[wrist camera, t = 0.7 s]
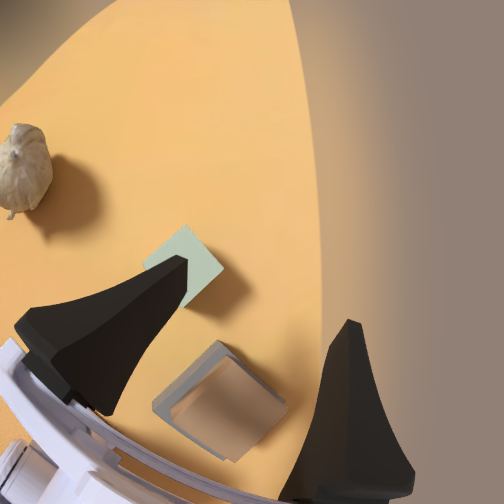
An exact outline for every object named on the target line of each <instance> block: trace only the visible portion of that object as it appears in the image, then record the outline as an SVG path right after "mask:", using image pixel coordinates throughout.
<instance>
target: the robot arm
mask: <svg viewBox="0 0 504 504" xmlns="http://www.w3.org/2000/svg"><path fill="white" fill-rule="evenodd" d="M187 282H188V259H186V258H184V257H181V256H179V255H174V256H172V257H170V258H168V259H167V260H165V261H163V262H161V263H159V264H157V265H156V266H154V267H152V268H150V269H148V270H146V271H144V272H143V273H141V274H139V275H137V276H135V277H133V278H131V279H129V280H127V281H125V282H123V283H120V284H118V285H116V286H114V287H112V288H109V289H107V290H104V291H102V292H99V293H96V294H93V295H90V296H87V297H84V298H80V299H77V300H74V301H69V302H65V303H61V304H56V305H50V306H42V307H34V308H30V309H29V310H28V311H27V312H26V313H25V314H24V315H23V316H22V317H21V318H20V319H19V320H18V322H17V323H16V324H15V325H14V328H15V330H16V332H17V333H18V335H19V336H20V338H21V339H22V341H23V342H24V343H25V345H26V346H27V347H28V349H29V350H30V351H29V352H28V353H27V354H26V352H25V351H24V350H23V349H22V348H21V347H20V346H19V345H18V343H17V342H16V341H15V340H14V339H13V338H12V337H10V338H9V339H8V340H7V341H6V343H5V344H4V345H3V346H2V347H1V348H0V394H1V396H2V397H3V399H4V400H5V402H6V403H7V405H8V406H9V408H10V409H11V410H12V412H13V413H14V415H15V416H16V417H17V419H18V420H19V421H20V423H21V424H22V425H23V427H24V428H25V429H26V430H27V432H28V433H29V434H30V435H31V437H32V438H33V440H32V441H31V443H30V444H29V446H28V447H27V446H26V445H27V442H26V441H25V440H24V439H14V440H13V441H12V442H11V443H10V445H9V446H8V447H7V449H6V450H5V452H4V453H3V454H2V456H1V457H0V504H195V503H193V502H190V501H188V500H186V499H183V498H181V497H179V496H177V495H175V494H173V493H170V492H168V491H166V490H164V489H162V488H160V487H158V486H156V485H154V484H152V483H150V482H148V481H146V480H145V479H143V478H141V477H139V476H137V475H135V474H134V473H132V472H130V471H129V470H127V469H125V468H123V467H122V466H120V465H119V462H120V460H121V459H122V457H121V456H120V455H118V454H117V453H115V452H114V451H112V450H113V449H114V448H116V447H117V448H118V449H120V450H121V451H123V452H125V453H126V454H128V455H129V456H131V457H133V458H134V459H136V460H138V461H140V462H141V463H143V464H145V465H147V466H148V467H150V468H152V469H154V470H156V471H158V472H160V473H162V474H164V475H166V476H168V477H170V478H172V479H174V480H176V481H178V482H180V483H182V484H185V485H187V486H189V487H191V488H194V489H196V490H198V491H201V492H203V493H206V494H208V495H211V496H214V497H216V498H219V499H222V500H225V501H228V502H231V503H234V504H388V503H389V500H390V499H395V498H401V497H405V496H408V495H410V494H412V491H413V486H414V481H415V471H414V469H413V468H412V466H411V464H410V463H409V461H408V460H407V458H406V456H405V455H404V453H403V451H402V449H401V447H400V446H399V444H398V442H397V439H396V437H395V435H394V433H393V431H392V429H391V426H390V424H389V422H388V419H387V417H386V414H385V412H384V409H383V406H382V403H381V400H380V397H379V394H378V391H377V387H376V384H375V381H374V377H373V373H372V369H371V365H370V361H369V357H368V352H367V348H366V344H365V339H364V334H363V329H362V325H361V323H358V322H355V321H352V320H350V319H348V320H347V321H346V323H345V324H344V326H343V327H342V329H341V330H340V332H339V333H338V334H337V336H336V337H335V339H334V340H333V342H332V343H331V345H330V346H329V350H328V353H327V356H326V360H325V363H324V367H323V372H322V377H321V383H320V388H319V393H318V398H317V403H316V408H315V412H314V416H313V420H312V423H311V425H310V428H309V431H308V434H307V437H306V439H305V442H304V444H303V447H302V449H301V452H300V454H299V456H298V459H297V461H296V463H295V465H294V468H293V470H292V472H291V474H290V476H289V478H288V480H287V482H286V484H285V486H284V487H283V489H282V491H281V493H280V495H279V498H278V501H276V500H272V499H268V498H265V497H261V496H257V495H254V494H251V493H247V492H244V491H241V490H238V489H235V488H232V487H229V486H226V485H223V484H221V483H218V482H215V481H213V480H210V479H208V478H205V477H203V476H200V475H198V474H196V473H193V472H191V471H189V470H187V469H185V468H182V467H180V466H178V465H176V464H174V463H172V462H170V461H168V460H166V459H164V458H162V457H160V456H158V455H156V454H155V453H153V452H151V451H149V450H147V449H146V448H144V447H142V446H140V445H139V444H137V443H135V442H134V441H132V440H130V439H129V438H127V437H125V436H124V435H122V434H121V433H119V432H118V431H116V430H115V429H113V428H112V427H110V426H109V425H107V424H106V423H105V422H104V421H103V420H101V419H100V418H99V417H98V416H97V415H96V414H95V413H94V412H92V411H91V410H93V411H95V410H97V411H98V412H99V413H101V414H102V415H104V416H111V415H113V412H114V410H115V408H116V405H117V403H118V401H119V399H120V396H121V394H122V392H123V390H124V388H125V386H126V384H127V382H128V380H129V378H130V376H131V375H132V373H133V371H134V369H135V367H136V365H137V364H138V362H139V360H140V359H141V357H142V355H143V354H144V352H145V350H146V349H147V347H148V346H149V345H150V343H151V342H152V341H153V339H154V338H155V337H156V335H157V334H158V333H159V332H160V330H161V329H162V328H163V326H164V325H165V324H166V323H167V321H168V320H169V319H170V318H171V316H172V315H173V314H174V312H175V311H176V310H177V308H178V307H179V305H180V303H181V302H182V300H183V298H184V296H185V295H186V293H187ZM88 407H89V408H90V409H91V410H90V409H89V408H88ZM23 451H24V453H23ZM285 502H286V503H285Z"/></svg>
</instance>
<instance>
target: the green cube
mask: <svg viewBox="0 0 504 504" xmlns="http://www.w3.org/2000/svg"><path fill="white" fill-rule="evenodd" d="M174 255H179V256H181V257H184V258H186V259H188V282H187V293H186V295H185V296H184V298H183V300H182V302H181V303H180V305H179V307H181V308H183V307H184V306H185V305H186V304H188V303H189V302H190V301H191V300H192V299H193V298H194V297H195V296H196V295H197V294H198V293H199V292H200V291H201V290H202V289H203V288H204V287H205V286H207V285H208V284H209V283H210V282H211V281H212V280H213V279H214V278H215V277H216V276H217V275H218V274H219V273H220V272H221V271H222V270H223V269H224V267H223V266H222V265H221V264H220V263H219V262H218V261H217V260H216V258H215V257H214V256H213V255H212V254H211V253H210V252H209V250H208V249H207V248H206V247H205V246H204V245H203V243H202V242H201V241H200V240H199V239H198V238H197V237H196V235H195V234H194V233H193V232H192V231H191V230H190V228H189V227H188V226H187V225H185V226H184V227H182V228H181V229H180V230H179V231H178V232H177V233H175V234H174V235H173V236H172V237H171V238H170V239H168V240H167V241H166V242H165V243H164V244H163V245H162V246H160V247H159V248H158V249H157V250H156V251H155V252H154V253H153V254H151V255H150V256H149V257H148V258H147V259H146V260H145V261H144V262H143V263H142V265H143V267H144V268H145V269H146V270H148V269H150V268H152V267H154V266H156V265H157V264H159V263H161V262H163V261H165V260H167V259H168V258H170V257H172V256H174Z"/></svg>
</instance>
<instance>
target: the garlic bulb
mask: <svg viewBox="0 0 504 504" xmlns="http://www.w3.org/2000/svg"><path fill="white" fill-rule="evenodd" d="M52 179H53V169H52V165H51V159H50V155H49V152H48V149H47V145H46V141H45V136H44V134H43V132H42V130H41V129H39V128H37V127H35V126H32V125H30V124H21V123H16V124H14V125H13V126H12V128H11V131H10V134H9V135H8V137H7V138H6V140H5V142H4V143H3V144H2V145H1V146H0V206H1V207H3V208H4V209H7V210H11V213H10V215H9V216H8V217H7V220H13V218H14V215H15V214H16V213H22V212H23V211H25V210H28V209H30V210H34V208H36V207H37V205H38V204H39V202H40V200H41V199H42V198H43V196H44V194H45V193H46V191H47V189H48V187H49V185H50V183H51V182H52Z"/></svg>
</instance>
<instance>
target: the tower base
mask: <svg viewBox="0 0 504 504" xmlns="http://www.w3.org/2000/svg"><path fill="white" fill-rule="evenodd" d="M225 355H227V356H228V357H229V358H231V359H232V360H233V361H234V362H235V363H236V364H237V365H239V366H240V367H241V368H242V369H243V370H244V371H245V372H246V373H247V374H249V375H250V376H251V377H252V378H253V379H254V380H255V381H256V382H258V383H259V384H260V385H261V386H262V387H263V388H265V389H266V390H267V391H268V392H269V393H270V394H272V395H273V396H274V397H275V398H276V399H278V400H279V401H280V402H281V403H282V404H284V403H285V402H286V401H285V400H283V399H282V398H281V397H280V396H279V395H278V394H276V393H275V392H274V391H273V390H272V389H271V388H270V387H268V386H267V385H266V384H265V383H264V382H263V381H262V380H261V379H259V378H258V377H257V376H256V375H255V374H254V373H253V372H252V371H251V370H250V369H248V368H247V367H246V366H245V365H244V364H243V363H242V362H241V361H240V360H239V359H238V358H237V357H236V356H235V355H234V354H232V353H231V352H230V351H229V350H228V349H227V348H226V347H225V346H224V345H223V344H222V343H221V342H219V341H218V340H216V341H215V342H214V343H213V344H212V345H211V346H210V347H209V348H208V349H207V350H206V351H205V352H204V353H203V354H202V355H201V356H200V357H199V358H198V359H197V360H196V361H195V362H194V363H193V364H192V365H191V366H190V367H188V368H187V369H186V370H185V371H184V372H183V373H182V374H181V375H180V376H179V377H178V378H177V379H176V380H175V381H174V382H173V383H172V384H171V385H169V386H168V387H167V388H166V389H165V390H164V391H163V392H162V393H161V394H160V395H159V396H158V397H157V398H155V399H154V400H153V401H152V411H153V412H154V413H155V414H156V415H158V416H159V417H160V418H162V419H163V420H164V421H165V422H167V423H168V424H169V425H171V426H172V427H173V428H175V429H176V430H177V431H179V432H180V433H182V434H183V435H184V436H186V437H187V438H189V439H190V440H192V441H193V442H195V443H196V444H197V445H199V446H200V447H202V448H204V449H205V450H207V451H208V452H210V453H211V454H213V455H215V456H216V457H218V458H220V459H221V460H223V461H224V460H225V459H226V458H225V457H224V456H222V455H220V454H219V453H217V452H216V451H214V450H212V449H211V448H209V447H208V446H206V445H205V444H203V443H202V442H200V441H199V440H197V439H196V438H194V437H193V436H191V435H190V434H188V433H187V432H186V431H184V430H183V429H181V428H180V427H179V426H177V425H176V424H175V423H173V421H172V417H171V412H170V408H171V407H172V406H173V405H174V404H175V403H176V402H177V401H178V400H180V399H181V398H182V397H183V396H184V395H185V394H186V393H187V392H188V391H189V390H190V389H191V388H192V387H193V386H194V385H195V384H196V383H197V382H198V381H199V380H200V379H201V378H202V377H203V376H205V375H206V374H207V373H208V372H209V371H210V370H211V369H212V368H213V367H214V366H215V365H216V364H217V363H218V362H219V361H220V360H221V359H222V358H223V357H224V356H225Z"/></svg>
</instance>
